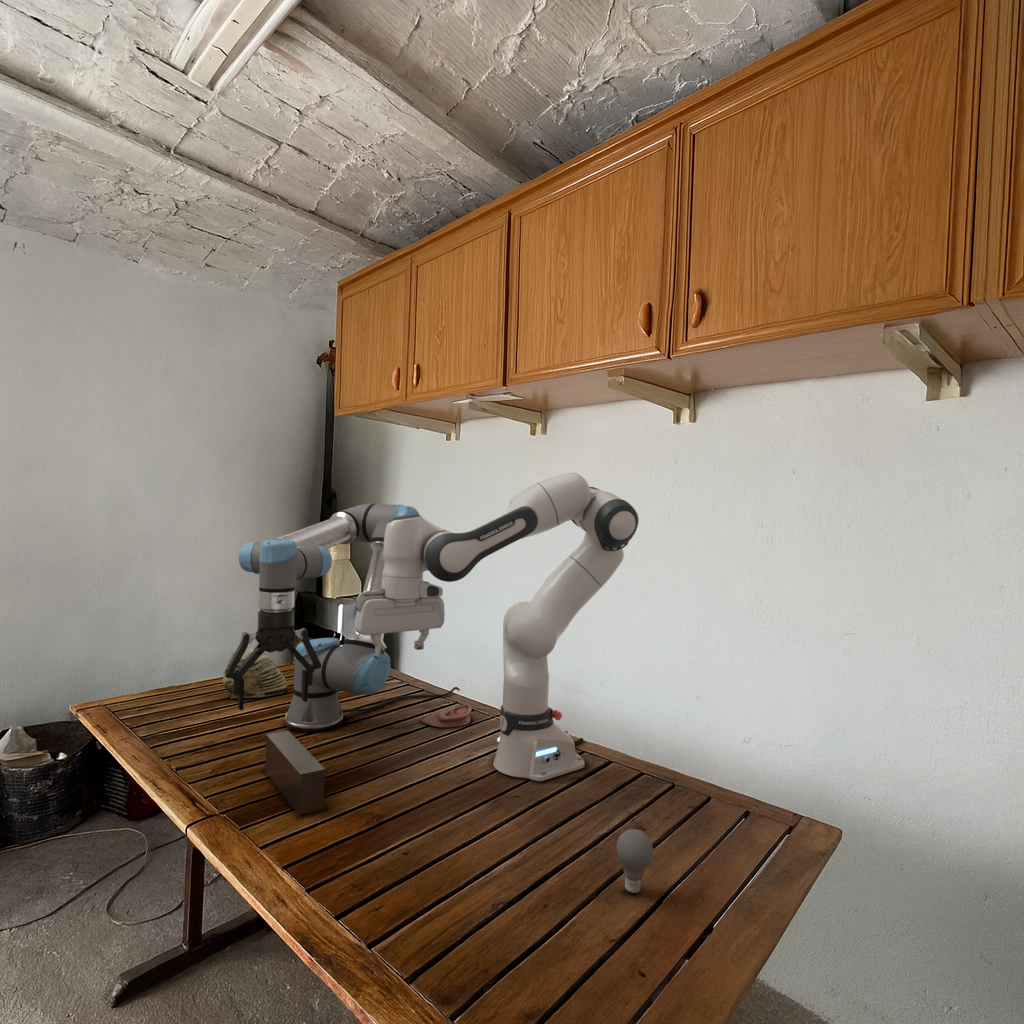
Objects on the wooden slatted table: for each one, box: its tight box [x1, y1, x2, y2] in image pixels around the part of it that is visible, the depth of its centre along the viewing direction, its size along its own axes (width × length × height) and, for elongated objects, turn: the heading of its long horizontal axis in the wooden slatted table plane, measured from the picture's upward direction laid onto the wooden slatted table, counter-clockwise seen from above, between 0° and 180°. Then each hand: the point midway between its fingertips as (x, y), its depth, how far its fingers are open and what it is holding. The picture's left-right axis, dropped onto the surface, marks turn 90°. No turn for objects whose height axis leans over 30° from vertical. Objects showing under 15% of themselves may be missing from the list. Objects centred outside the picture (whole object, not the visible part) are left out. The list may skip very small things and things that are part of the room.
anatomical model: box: [421, 703, 472, 728], centre depth 182 cm, size 13×4×12 cm
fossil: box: [222, 647, 288, 699], centre depth 198 cm, size 9×18×15 cm, turn 132°
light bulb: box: [615, 828, 654, 894], centre depth 106 cm, size 6×6×10 cm
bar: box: [264, 730, 326, 817], centre depth 137 cm, size 24×5×8 cm, turn 36°
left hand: (273, 704), depth 141 cm, fingers open, 13 cm apart
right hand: (399, 651), depth 139 cm, fingers open, 8 cm apart
